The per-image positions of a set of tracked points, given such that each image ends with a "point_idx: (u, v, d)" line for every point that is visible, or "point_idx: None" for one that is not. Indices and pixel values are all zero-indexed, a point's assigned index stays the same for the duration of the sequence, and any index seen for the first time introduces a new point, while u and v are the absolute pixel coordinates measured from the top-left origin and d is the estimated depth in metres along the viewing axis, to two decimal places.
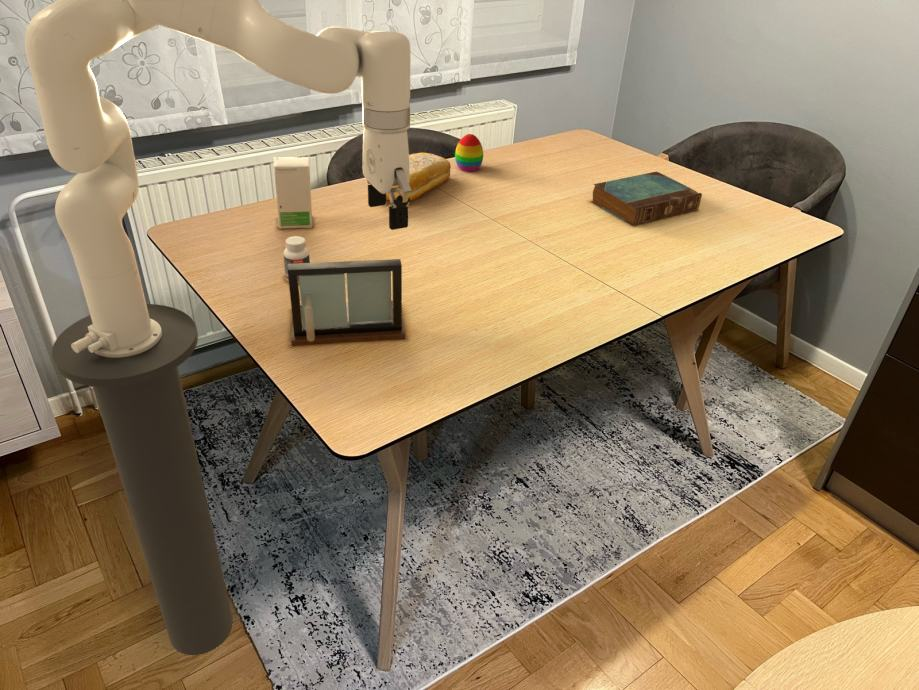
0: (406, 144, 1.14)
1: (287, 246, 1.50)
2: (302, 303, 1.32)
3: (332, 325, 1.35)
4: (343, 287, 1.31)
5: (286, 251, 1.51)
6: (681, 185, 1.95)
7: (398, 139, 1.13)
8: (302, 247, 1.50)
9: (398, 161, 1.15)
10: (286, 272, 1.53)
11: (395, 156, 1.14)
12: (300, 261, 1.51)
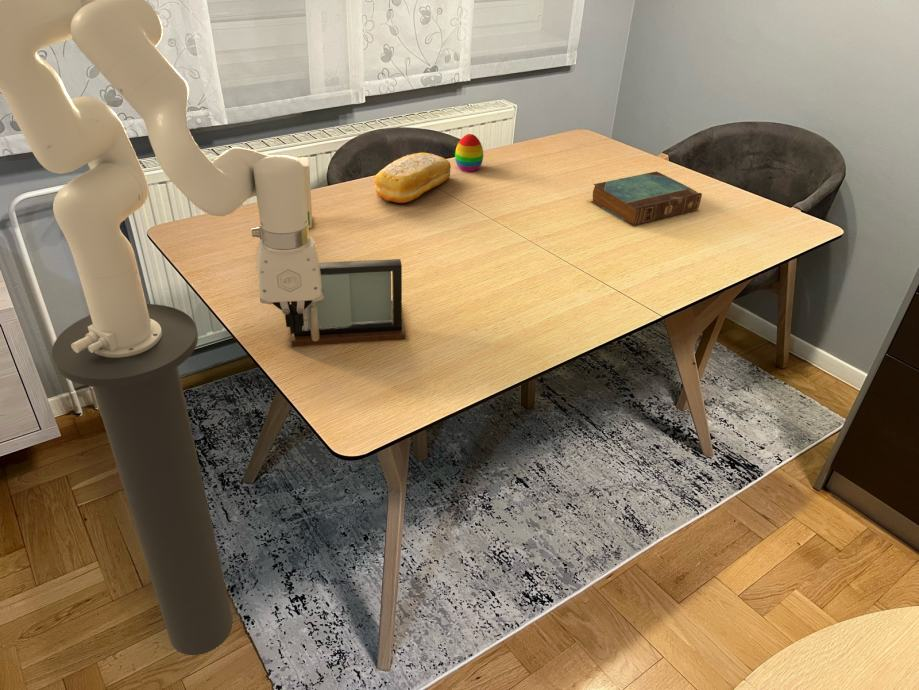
0: None
1: None
2: None
3: (336, 325, 1.35)
4: (347, 287, 1.31)
5: None
6: (681, 185, 1.95)
7: None
8: None
9: None
10: None
11: (318, 260, 1.21)
12: None
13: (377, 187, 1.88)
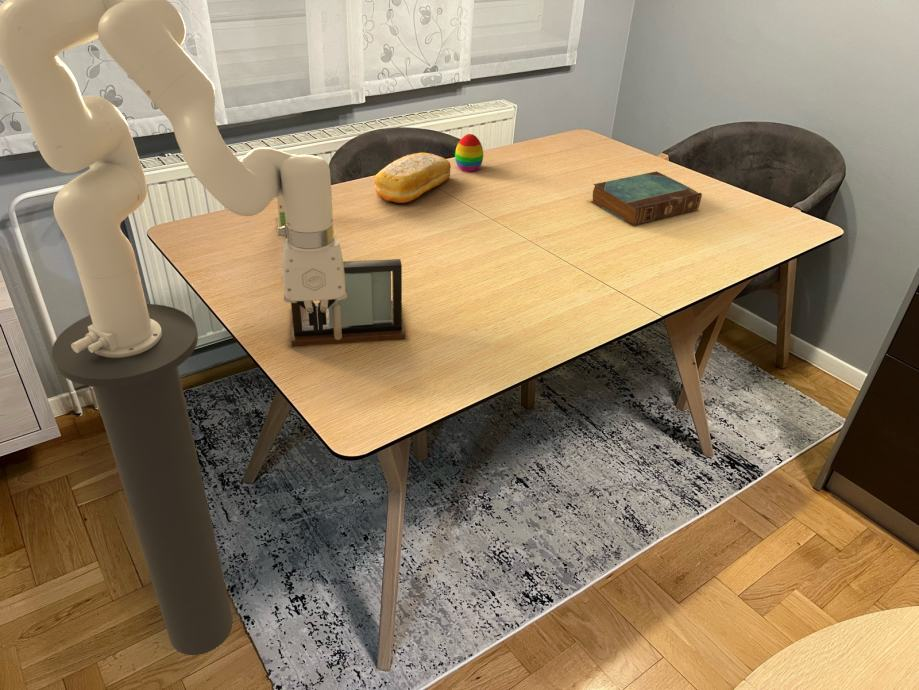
0: None
1: None
2: None
3: (358, 324, 1.36)
4: (369, 286, 1.32)
5: None
6: (681, 185, 1.96)
7: None
8: None
9: None
10: None
11: None
12: None
13: (377, 187, 1.88)
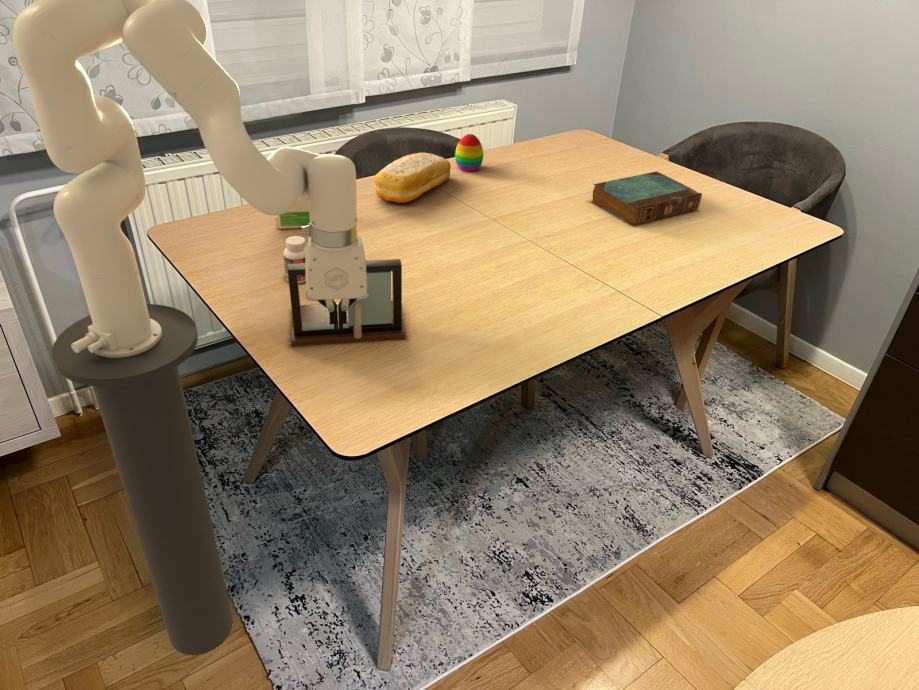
0: None
1: (287, 246, 1.50)
2: None
3: (377, 322, 1.37)
4: (389, 285, 1.33)
5: (286, 251, 1.51)
6: (681, 185, 1.96)
7: None
8: (302, 247, 1.50)
9: None
10: (286, 272, 1.53)
11: None
12: (300, 261, 1.51)
13: (377, 187, 1.88)
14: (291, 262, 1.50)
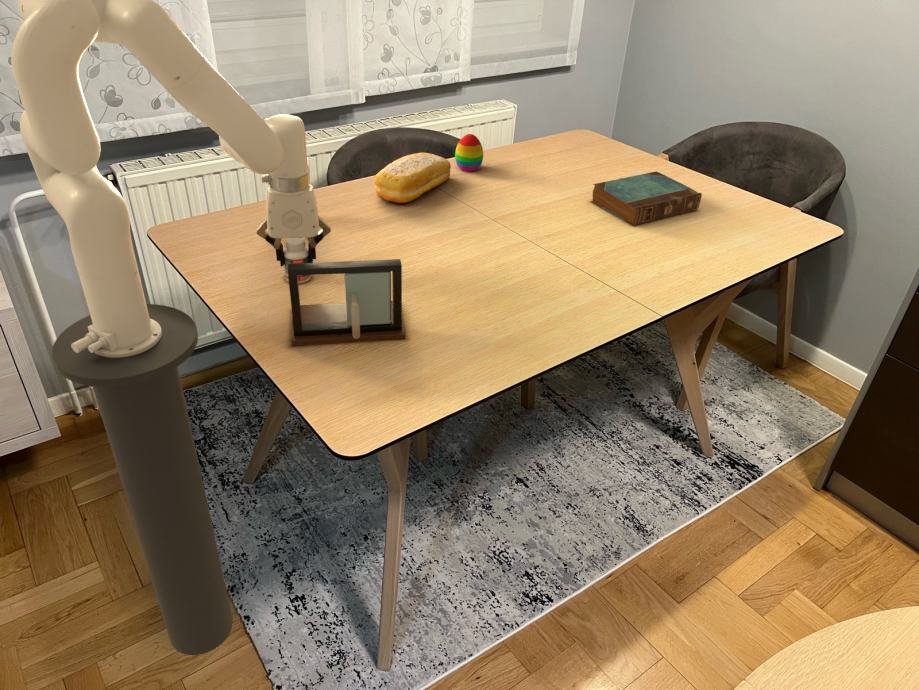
0: None
1: (287, 246, 1.50)
2: (347, 301, 1.33)
3: (375, 323, 1.37)
4: (387, 285, 1.33)
5: (286, 251, 1.51)
6: (681, 185, 1.96)
7: None
8: (302, 247, 1.50)
9: None
10: (286, 272, 1.53)
11: (316, 203, 1.46)
12: (300, 261, 1.51)
13: (377, 187, 1.88)
14: (291, 262, 1.50)
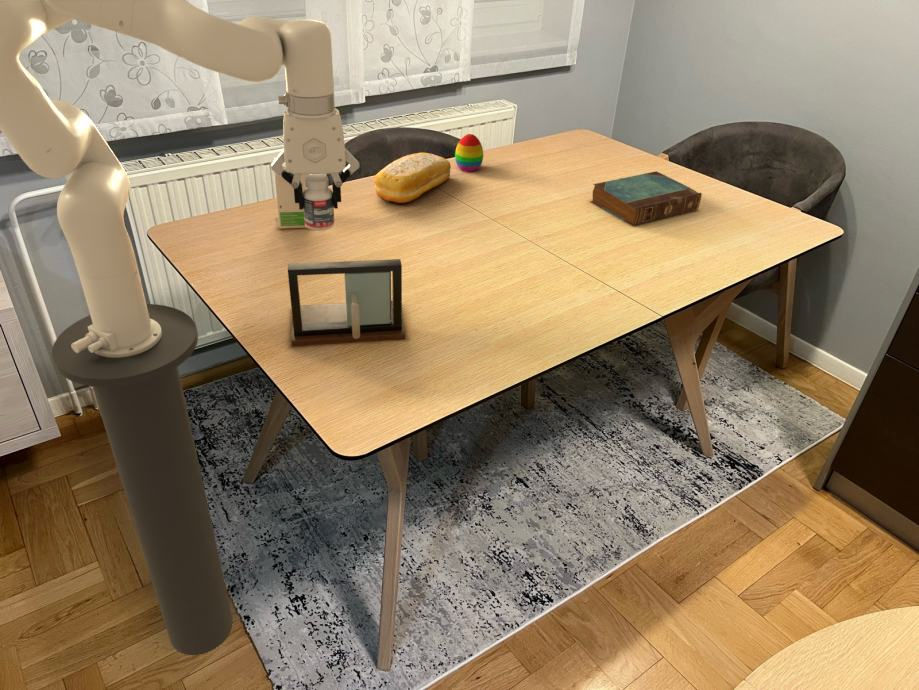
0: None
1: (307, 185, 1.26)
2: (347, 301, 1.33)
3: (375, 323, 1.37)
4: (387, 285, 1.33)
5: (306, 191, 1.27)
6: (681, 185, 1.96)
7: None
8: (325, 186, 1.26)
9: None
10: (306, 217, 1.29)
11: None
12: (323, 203, 1.27)
13: (377, 187, 1.88)
14: (312, 204, 1.27)
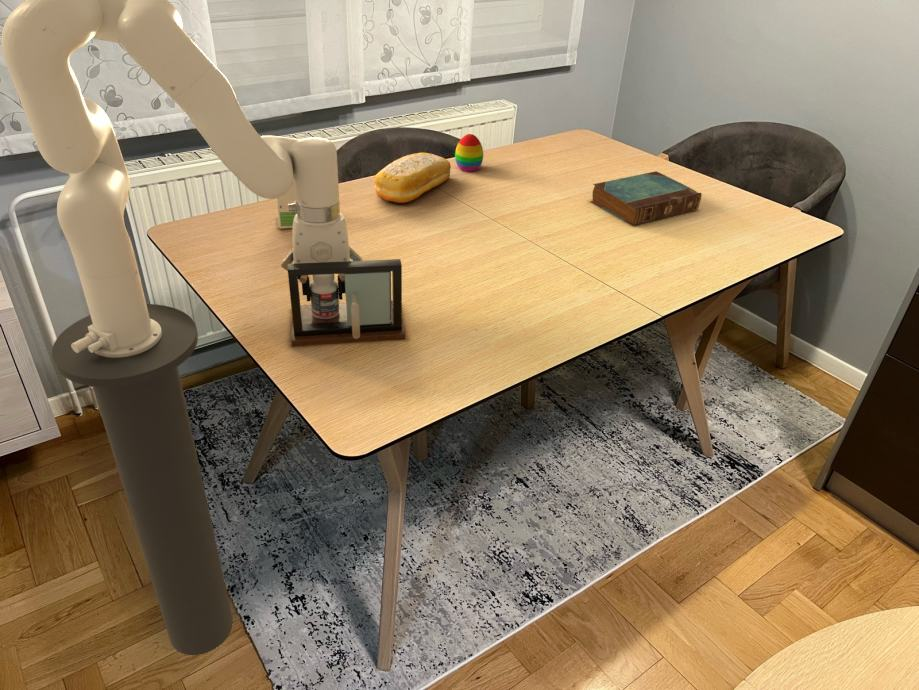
0: None
1: (314, 279, 1.36)
2: (347, 301, 1.33)
3: (375, 323, 1.37)
4: (387, 285, 1.33)
5: (313, 285, 1.37)
6: (681, 185, 1.96)
7: None
8: (331, 280, 1.37)
9: None
10: (313, 307, 1.39)
11: (347, 233, 1.33)
12: (329, 296, 1.37)
13: (377, 187, 1.88)
14: (319, 297, 1.37)
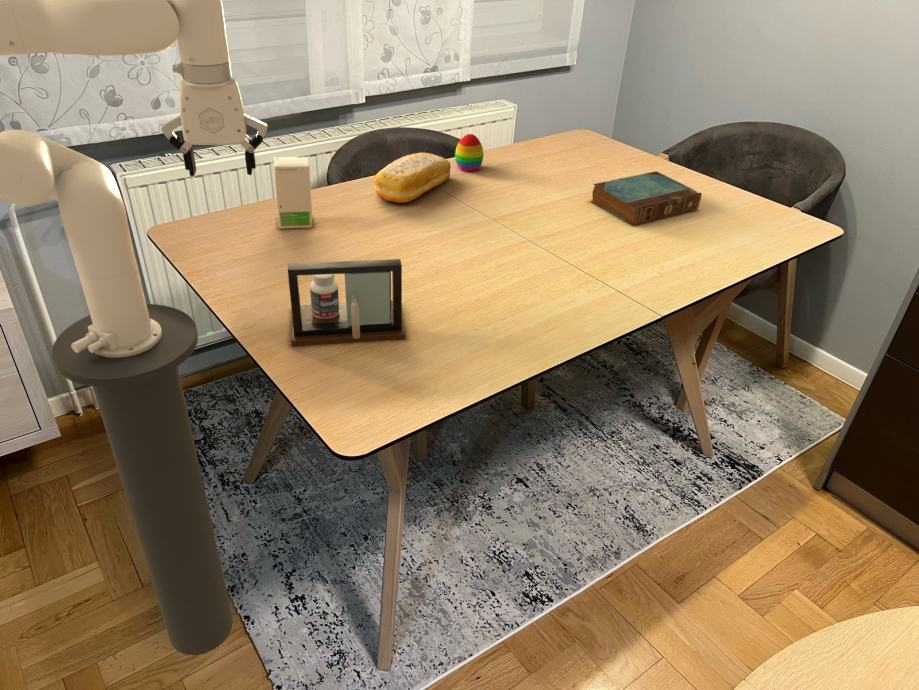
0: None
1: (314, 279, 1.36)
2: (347, 301, 1.33)
3: (375, 323, 1.37)
4: (387, 285, 1.33)
5: (313, 285, 1.37)
6: (681, 185, 1.96)
7: (237, 85, 1.20)
8: (331, 280, 1.37)
9: (242, 106, 1.22)
10: (313, 307, 1.39)
11: (241, 102, 1.21)
12: (328, 296, 1.37)
13: (377, 187, 1.88)
14: (319, 297, 1.37)
